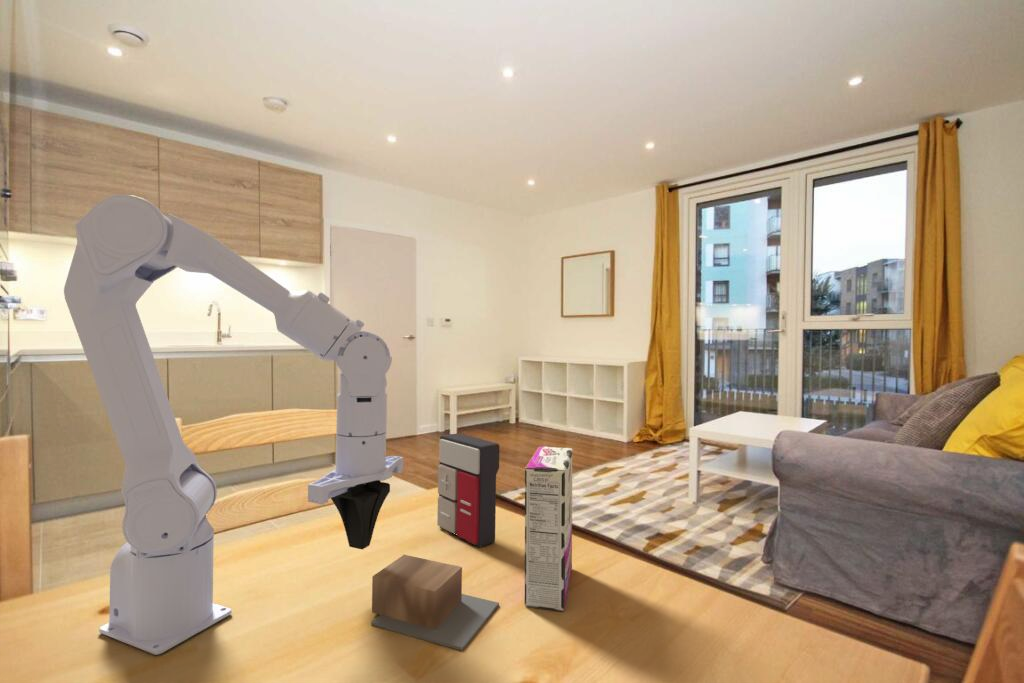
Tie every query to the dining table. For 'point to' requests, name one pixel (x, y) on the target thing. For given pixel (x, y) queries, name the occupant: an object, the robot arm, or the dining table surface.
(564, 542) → the candy bar box
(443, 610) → the walnut block
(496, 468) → the calculator
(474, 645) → the dining table surface
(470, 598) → the mat
